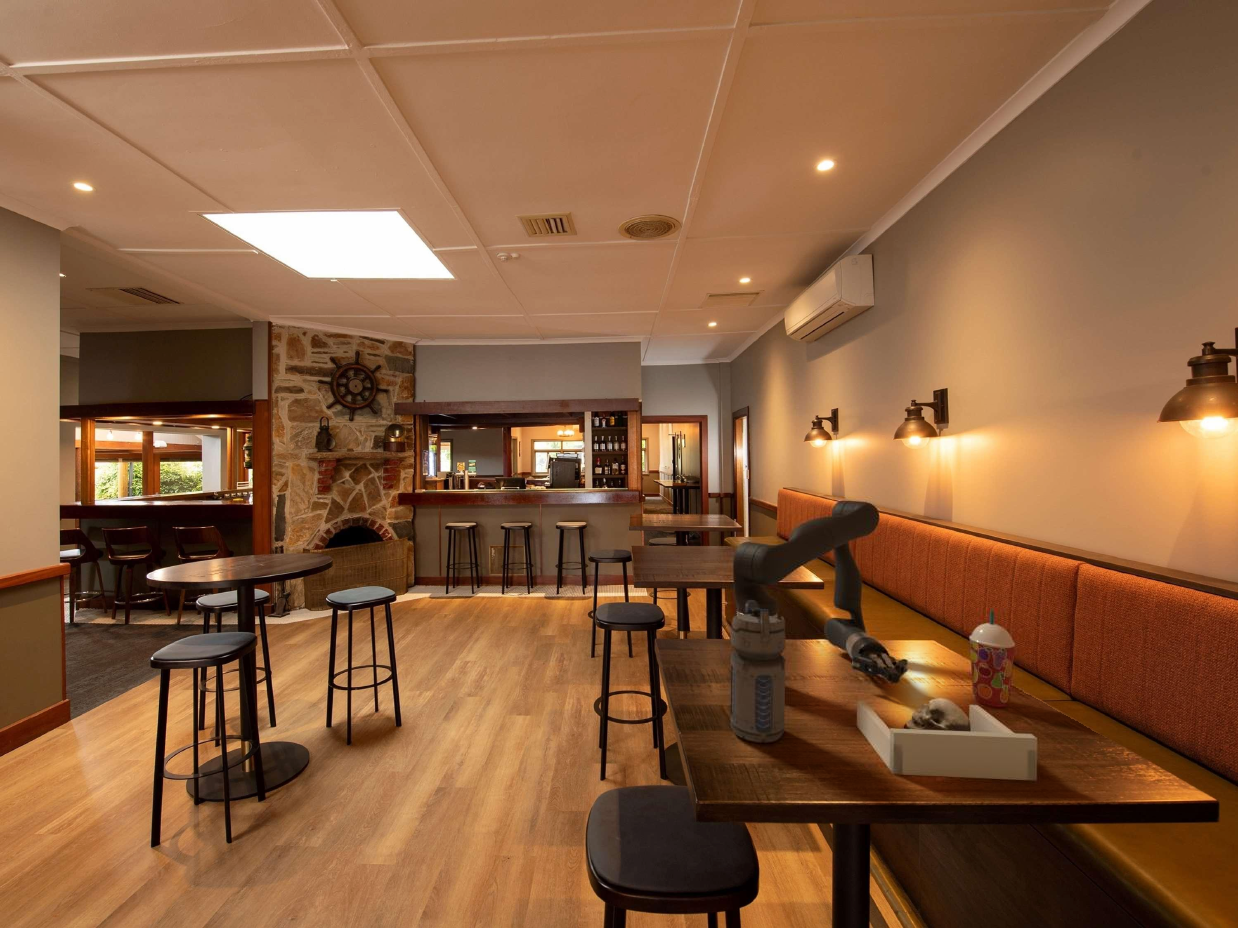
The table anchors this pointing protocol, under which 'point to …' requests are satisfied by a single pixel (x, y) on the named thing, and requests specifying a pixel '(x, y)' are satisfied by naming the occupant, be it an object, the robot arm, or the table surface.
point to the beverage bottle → (757, 675)
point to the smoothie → (991, 663)
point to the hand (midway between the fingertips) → (895, 678)
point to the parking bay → (953, 748)
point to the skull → (939, 717)
